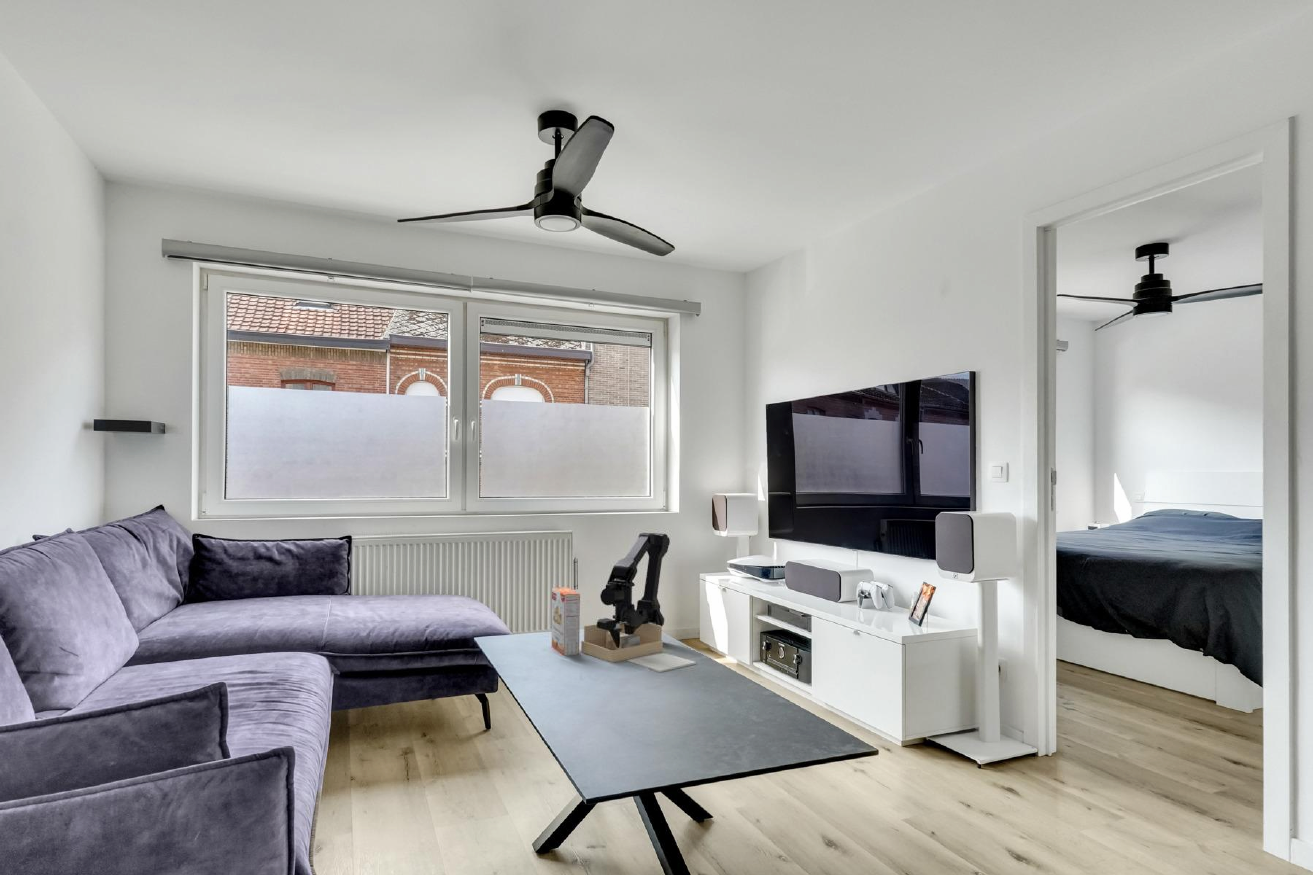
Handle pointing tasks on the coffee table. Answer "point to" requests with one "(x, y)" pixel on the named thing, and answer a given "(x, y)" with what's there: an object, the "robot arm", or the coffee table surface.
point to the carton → (648, 645)
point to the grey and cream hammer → (622, 641)
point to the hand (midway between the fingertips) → (622, 646)
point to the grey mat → (662, 662)
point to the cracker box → (565, 620)
